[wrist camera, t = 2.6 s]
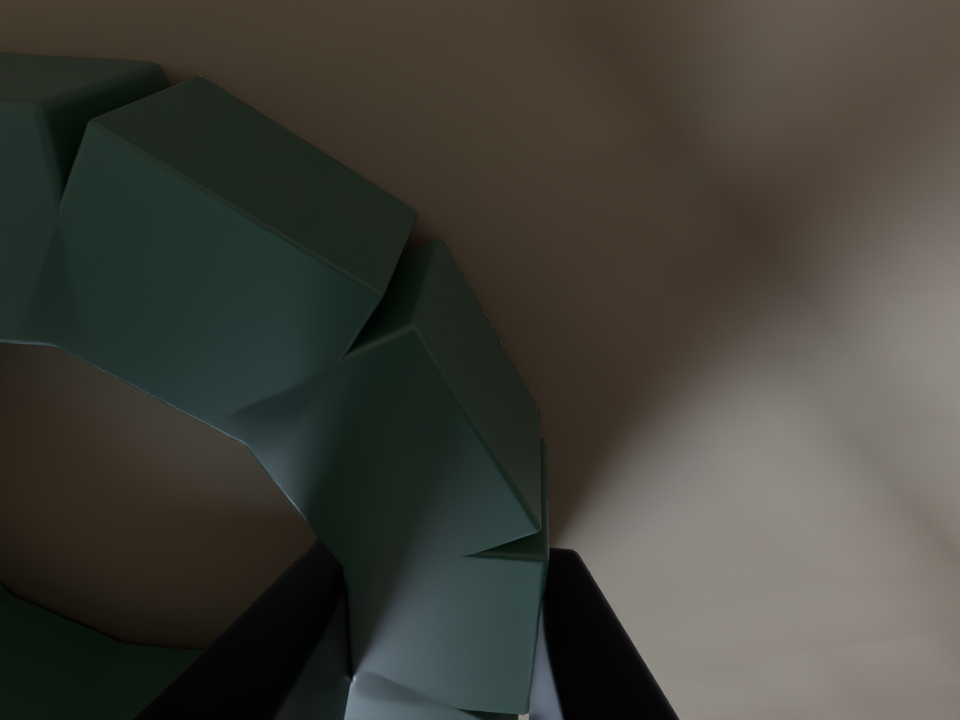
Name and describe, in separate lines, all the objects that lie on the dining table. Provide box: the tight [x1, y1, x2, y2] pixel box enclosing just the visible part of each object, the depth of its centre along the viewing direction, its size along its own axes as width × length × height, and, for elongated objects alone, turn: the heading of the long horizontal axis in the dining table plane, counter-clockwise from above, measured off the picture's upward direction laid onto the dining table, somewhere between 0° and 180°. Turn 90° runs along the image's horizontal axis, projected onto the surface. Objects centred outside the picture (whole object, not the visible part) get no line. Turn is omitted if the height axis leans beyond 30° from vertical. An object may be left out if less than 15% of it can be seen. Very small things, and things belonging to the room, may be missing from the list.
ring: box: [0, 53, 549, 720], centre depth 9 cm, size 10×10×2 cm
